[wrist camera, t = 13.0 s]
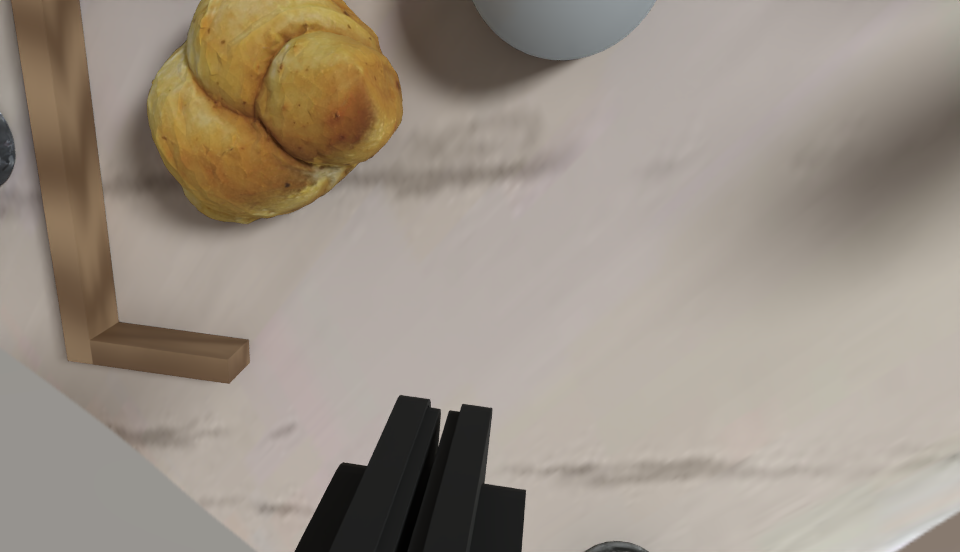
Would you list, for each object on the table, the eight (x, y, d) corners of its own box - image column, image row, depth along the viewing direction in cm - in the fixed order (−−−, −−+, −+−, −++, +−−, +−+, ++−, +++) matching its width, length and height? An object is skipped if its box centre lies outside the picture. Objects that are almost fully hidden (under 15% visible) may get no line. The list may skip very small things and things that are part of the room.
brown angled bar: (38, -94, 30) (-6, -106, 28) (230, -78, 29) (202, -88, 27) (97, 341, 38) (67, 360, 36) (249, 362, 37) (229, 383, 35)
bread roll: (265, 248, 35) (185, 304, 27) (139, 102, 33) (16, 119, 25) (446, 103, 31) (410, 122, 24) (316, -71, 29) (232, -112, 22)
